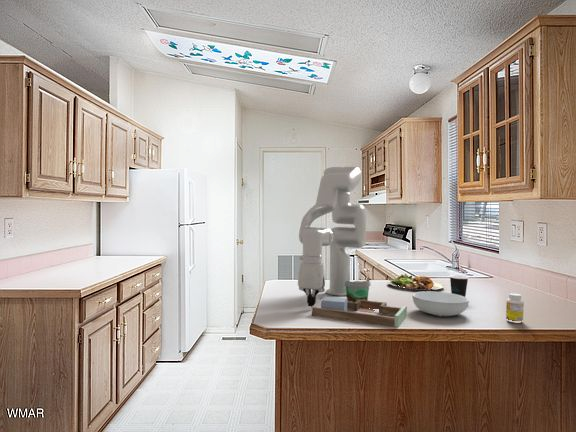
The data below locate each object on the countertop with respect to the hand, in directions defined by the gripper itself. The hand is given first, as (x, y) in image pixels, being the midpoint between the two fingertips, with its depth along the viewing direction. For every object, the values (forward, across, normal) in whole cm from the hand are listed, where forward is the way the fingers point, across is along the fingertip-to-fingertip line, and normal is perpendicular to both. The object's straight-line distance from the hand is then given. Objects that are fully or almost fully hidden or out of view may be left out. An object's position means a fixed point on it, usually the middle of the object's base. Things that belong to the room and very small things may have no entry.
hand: (311, 305), depth 171 cm
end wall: (+2, +35, 0) cm, 35 cm away
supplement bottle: (+2, +73, +19) cm, 75 cm away
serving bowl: (+2, +47, +19) cm, 50 cm away
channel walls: (+2, +19, +3) cm, 19 cm away
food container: (+2, +15, +19) cm, 24 cm away
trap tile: (+2, +21, +10) cm, 23 cm away
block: (+2, +10, 0) cm, 10 cm away
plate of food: (+2, +29, +72) cm, 77 cm away
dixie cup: (+2, +52, +46) cm, 69 cm away
